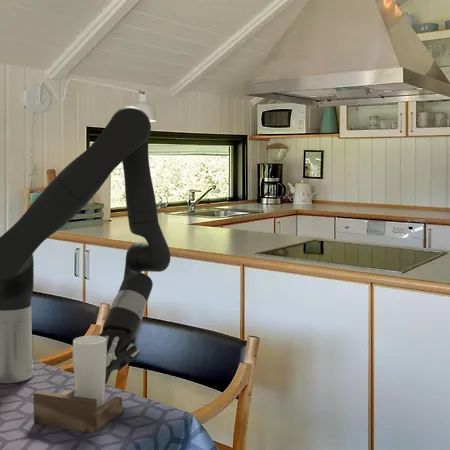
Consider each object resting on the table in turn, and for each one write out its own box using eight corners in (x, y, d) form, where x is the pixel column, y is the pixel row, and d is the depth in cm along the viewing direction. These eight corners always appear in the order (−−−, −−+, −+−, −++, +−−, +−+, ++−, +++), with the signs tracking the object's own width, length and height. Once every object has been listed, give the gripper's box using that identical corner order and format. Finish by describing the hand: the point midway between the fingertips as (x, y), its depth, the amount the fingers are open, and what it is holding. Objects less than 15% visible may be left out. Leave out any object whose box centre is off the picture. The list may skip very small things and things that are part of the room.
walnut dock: (67, 403, 129) (67, 375, 129) (122, 411, 125) (122, 383, 124) (34, 423, 119) (33, 393, 118) (92, 433, 114) (91, 402, 114)
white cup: (81, 420, 120) (80, 345, 119) (68, 410, 125) (67, 338, 124) (112, 413, 124) (112, 340, 123) (99, 403, 129) (98, 333, 128)
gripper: (93, 303, 137) (63, 373, 127) (146, 307, 133) (119, 380, 122) (106, 321, 143) (78, 389, 132) (157, 325, 138) (132, 397, 128)
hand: (98, 385), depth 127 cm, fingers closed
